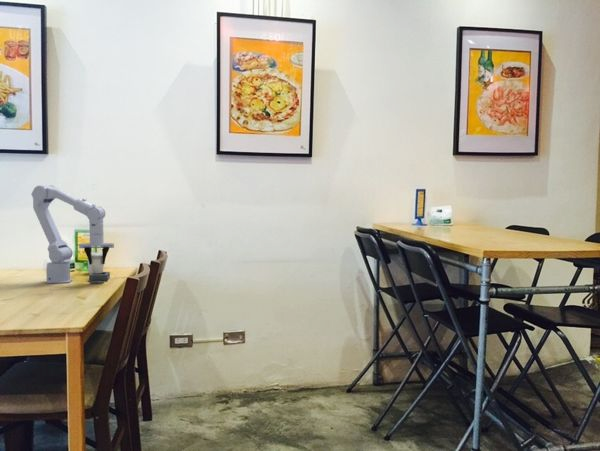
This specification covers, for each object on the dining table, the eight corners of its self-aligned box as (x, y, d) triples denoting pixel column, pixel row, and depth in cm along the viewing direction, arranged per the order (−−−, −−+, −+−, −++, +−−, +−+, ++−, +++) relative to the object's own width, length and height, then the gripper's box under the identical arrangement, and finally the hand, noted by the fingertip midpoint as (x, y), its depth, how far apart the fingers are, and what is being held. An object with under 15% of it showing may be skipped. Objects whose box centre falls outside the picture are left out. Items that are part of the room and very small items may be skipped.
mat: (89, 284, 225) (89, 283, 225) (91, 281, 231) (91, 280, 231) (103, 284, 226) (103, 283, 226) (105, 281, 232) (105, 280, 232)
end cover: (90, 273, 225) (90, 257, 224) (92, 271, 230) (91, 255, 229) (102, 273, 227) (102, 257, 226) (103, 271, 231) (103, 255, 230)
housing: (89, 281, 231) (88, 275, 231) (91, 278, 239) (91, 272, 238) (107, 281, 233) (107, 274, 233) (109, 277, 240) (109, 271, 240)
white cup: (87, 272, 253) (86, 252, 252) (103, 271, 256) (103, 252, 256) (87, 275, 246) (87, 255, 245) (105, 274, 249) (104, 254, 248)
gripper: (77, 235, 221) (78, 265, 222) (112, 234, 224) (113, 265, 226) (80, 233, 228) (80, 263, 229) (114, 233, 231) (114, 262, 232)
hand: (97, 264), depth 228 cm, fingers closed on end cover, 5 cm apart
